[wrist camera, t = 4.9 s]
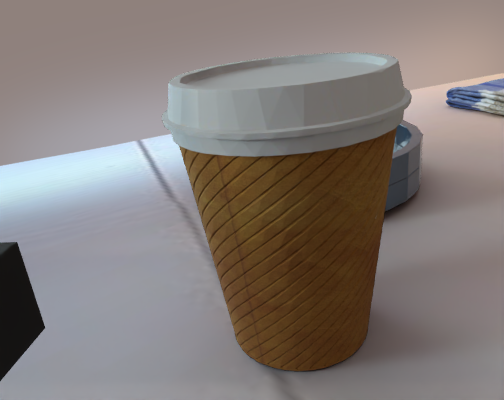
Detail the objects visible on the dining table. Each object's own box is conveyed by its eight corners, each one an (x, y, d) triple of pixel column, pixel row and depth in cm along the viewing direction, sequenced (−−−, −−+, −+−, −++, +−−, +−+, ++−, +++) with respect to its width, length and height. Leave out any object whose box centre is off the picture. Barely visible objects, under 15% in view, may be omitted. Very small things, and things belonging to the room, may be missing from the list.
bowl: (166, 192, 41) (158, 146, 40) (311, 144, 50) (309, 105, 49) (303, 261, 28) (299, 196, 26) (465, 178, 37) (470, 127, 36)
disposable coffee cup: (321, 255, 28) (311, 48, 24) (452, 340, 20) (473, 55, 16) (173, 311, 24) (127, 78, 20) (263, 444, 17) (219, 106, 12)
